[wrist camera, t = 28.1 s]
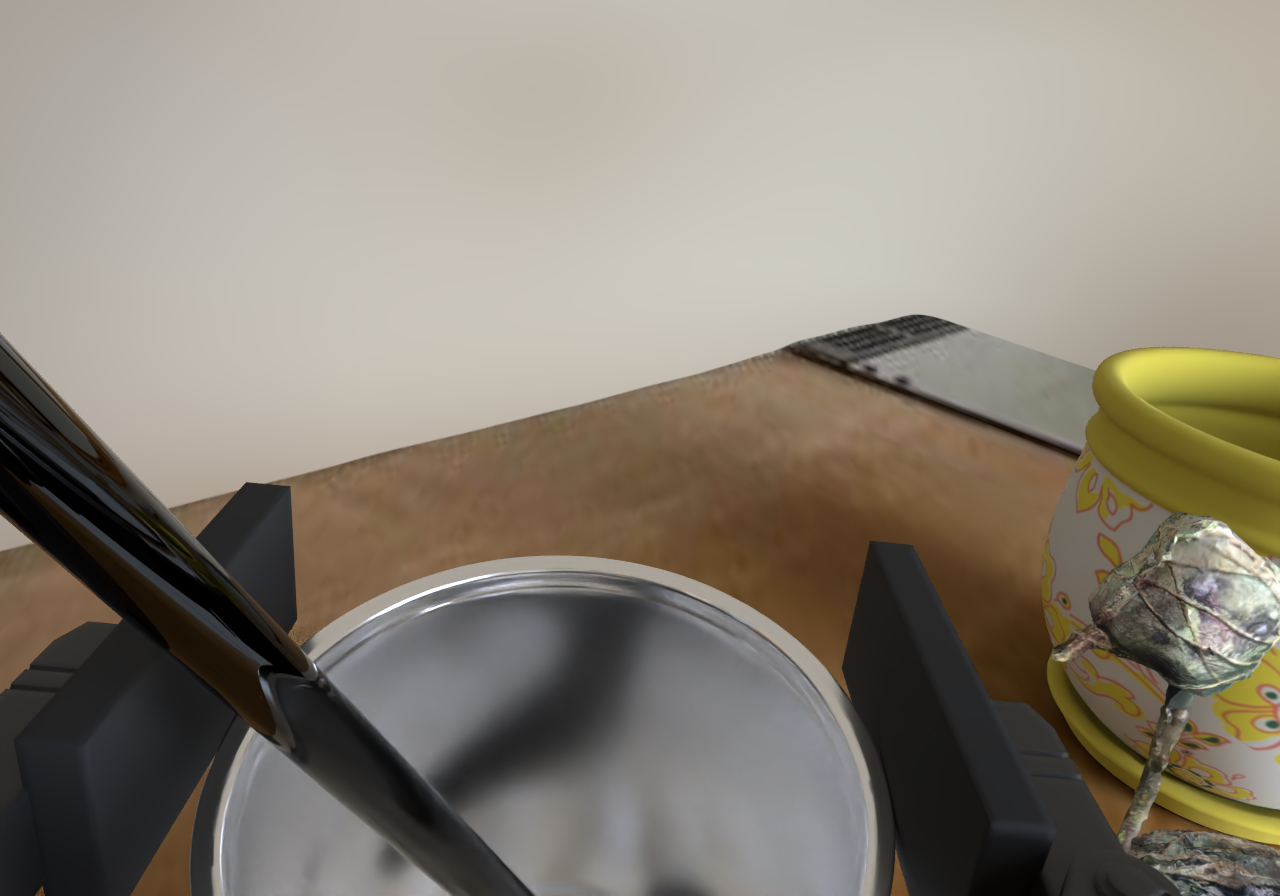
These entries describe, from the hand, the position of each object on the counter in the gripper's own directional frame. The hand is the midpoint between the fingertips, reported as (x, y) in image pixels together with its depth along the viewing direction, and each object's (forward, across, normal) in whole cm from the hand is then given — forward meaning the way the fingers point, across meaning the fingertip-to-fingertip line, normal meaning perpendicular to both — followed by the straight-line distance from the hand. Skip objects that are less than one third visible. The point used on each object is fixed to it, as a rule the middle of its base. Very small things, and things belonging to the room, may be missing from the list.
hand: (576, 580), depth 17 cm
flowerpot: (+21, +29, -19) cm, 40 cm away
